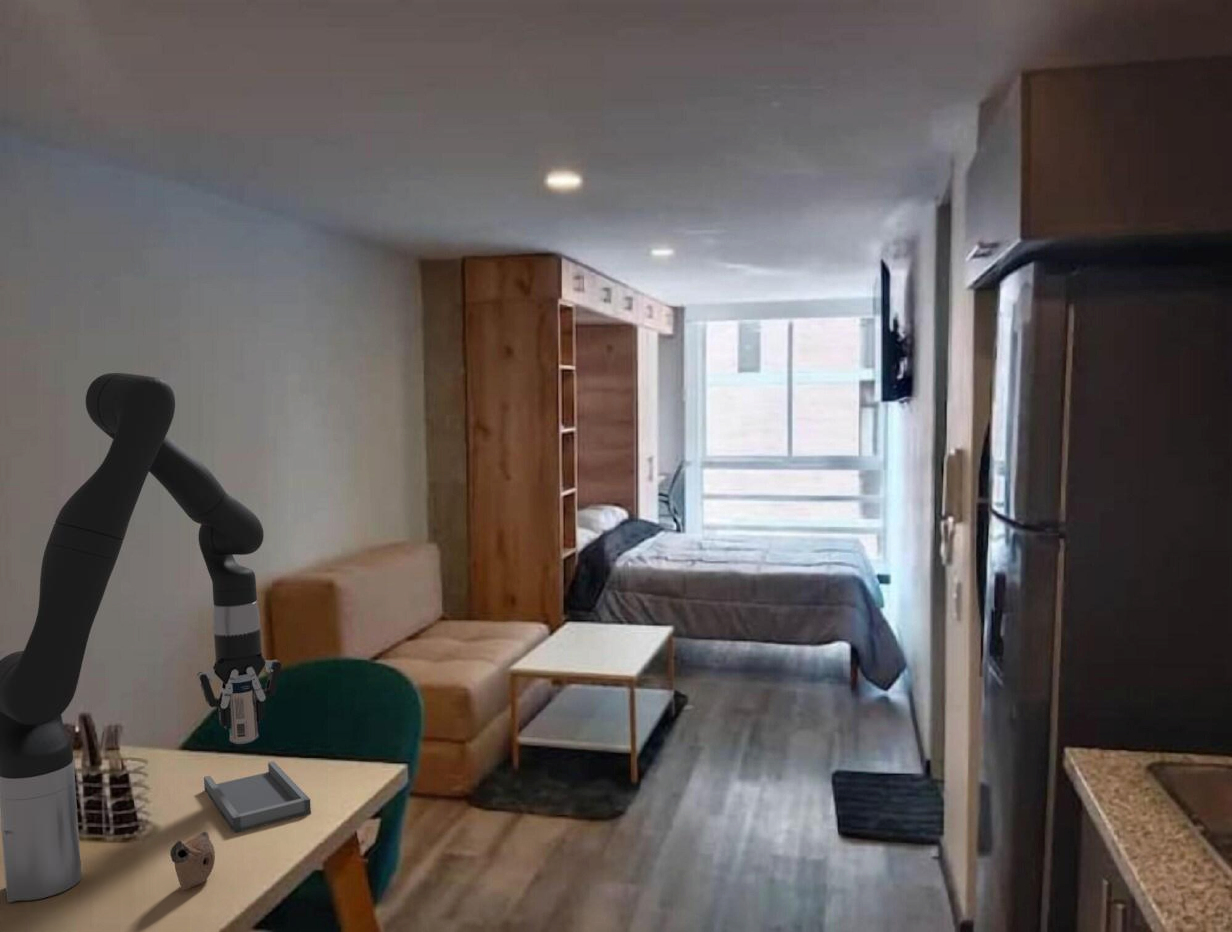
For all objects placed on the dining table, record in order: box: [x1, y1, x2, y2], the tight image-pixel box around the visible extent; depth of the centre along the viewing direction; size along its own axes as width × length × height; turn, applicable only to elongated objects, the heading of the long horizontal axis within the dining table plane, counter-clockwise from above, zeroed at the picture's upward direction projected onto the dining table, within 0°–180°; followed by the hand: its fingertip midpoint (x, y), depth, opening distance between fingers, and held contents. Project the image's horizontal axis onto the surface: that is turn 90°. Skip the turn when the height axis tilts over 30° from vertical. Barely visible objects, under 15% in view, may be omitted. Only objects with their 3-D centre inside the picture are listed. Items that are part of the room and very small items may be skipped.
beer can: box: [228, 674, 259, 745], centre depth 172 cm, size 5×5×12 cm
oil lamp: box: [169, 831, 216, 891], centre depth 137 cm, size 9×4×8 cm, turn 173°
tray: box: [203, 760, 312, 834], centre depth 167 cm, size 12×22×2 cm, turn 34°
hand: (243, 724), depth 172 cm, fingers closed on beer can, 4 cm apart
